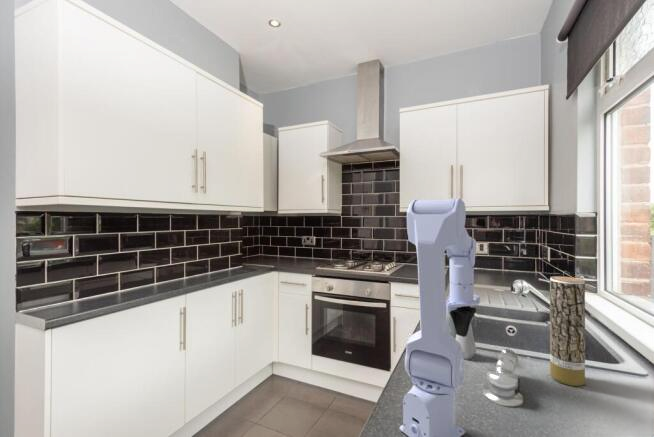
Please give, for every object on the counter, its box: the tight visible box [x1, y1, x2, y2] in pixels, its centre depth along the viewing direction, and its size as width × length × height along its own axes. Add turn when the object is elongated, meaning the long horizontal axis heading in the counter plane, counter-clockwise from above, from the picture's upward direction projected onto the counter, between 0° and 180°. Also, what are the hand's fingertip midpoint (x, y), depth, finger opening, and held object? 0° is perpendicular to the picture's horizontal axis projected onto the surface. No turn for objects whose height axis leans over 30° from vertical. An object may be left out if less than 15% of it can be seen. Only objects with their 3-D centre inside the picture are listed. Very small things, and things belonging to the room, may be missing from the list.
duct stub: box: [481, 376, 524, 408], centre depth 70 cm, size 9×8×4 cm
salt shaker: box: [455, 316, 477, 360], centre depth 90 cm, size 6×6×13 cm
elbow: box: [486, 348, 519, 391], centre depth 73 cm, size 15×6×4 cm, turn 143°
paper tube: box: [549, 275, 586, 387], centre depth 76 cm, size 7×7×25 cm
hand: (461, 335), depth 80 cm, fingers closed
